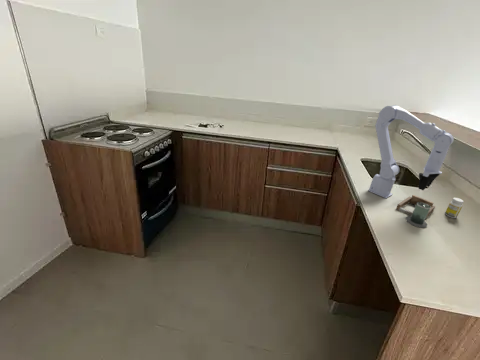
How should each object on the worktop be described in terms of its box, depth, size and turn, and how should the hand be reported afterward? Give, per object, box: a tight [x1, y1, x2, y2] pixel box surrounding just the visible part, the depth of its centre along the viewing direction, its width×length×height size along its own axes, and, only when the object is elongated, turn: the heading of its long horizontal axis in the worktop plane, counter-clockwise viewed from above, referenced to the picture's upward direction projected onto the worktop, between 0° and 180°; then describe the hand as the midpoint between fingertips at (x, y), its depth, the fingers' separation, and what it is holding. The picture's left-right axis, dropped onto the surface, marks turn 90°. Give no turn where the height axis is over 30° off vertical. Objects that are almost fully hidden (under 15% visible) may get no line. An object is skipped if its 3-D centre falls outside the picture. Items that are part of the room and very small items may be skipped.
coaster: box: [405, 215, 428, 229], centre depth 118 cm, size 8×8×1 cm
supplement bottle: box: [444, 197, 464, 219], centre depth 126 cm, size 5×5×8 cm
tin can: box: [410, 202, 431, 225], centre depth 116 cm, size 5×5×8 cm
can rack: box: [395, 194, 436, 218], centre depth 128 cm, size 11×15×4 cm
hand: (423, 187), depth 127 cm, fingers open, 7 cm apart
